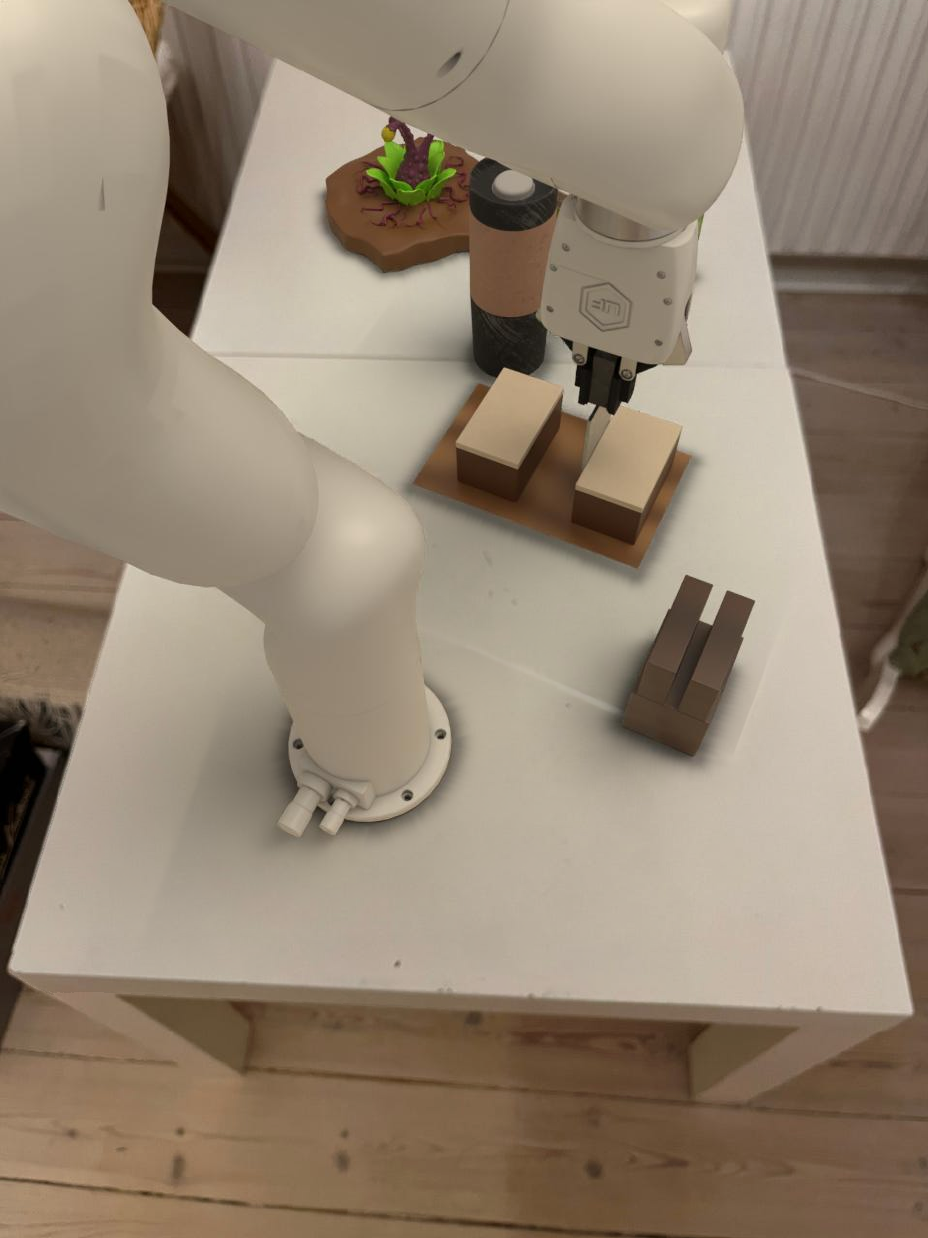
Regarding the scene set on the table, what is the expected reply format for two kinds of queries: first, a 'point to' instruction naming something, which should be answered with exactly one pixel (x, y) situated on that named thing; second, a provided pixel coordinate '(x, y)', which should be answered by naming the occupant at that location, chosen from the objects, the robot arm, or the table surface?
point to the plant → (402, 200)
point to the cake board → (545, 488)
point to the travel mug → (508, 266)
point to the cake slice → (625, 474)
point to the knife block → (687, 668)
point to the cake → (509, 434)
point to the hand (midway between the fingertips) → (602, 396)
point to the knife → (599, 400)
